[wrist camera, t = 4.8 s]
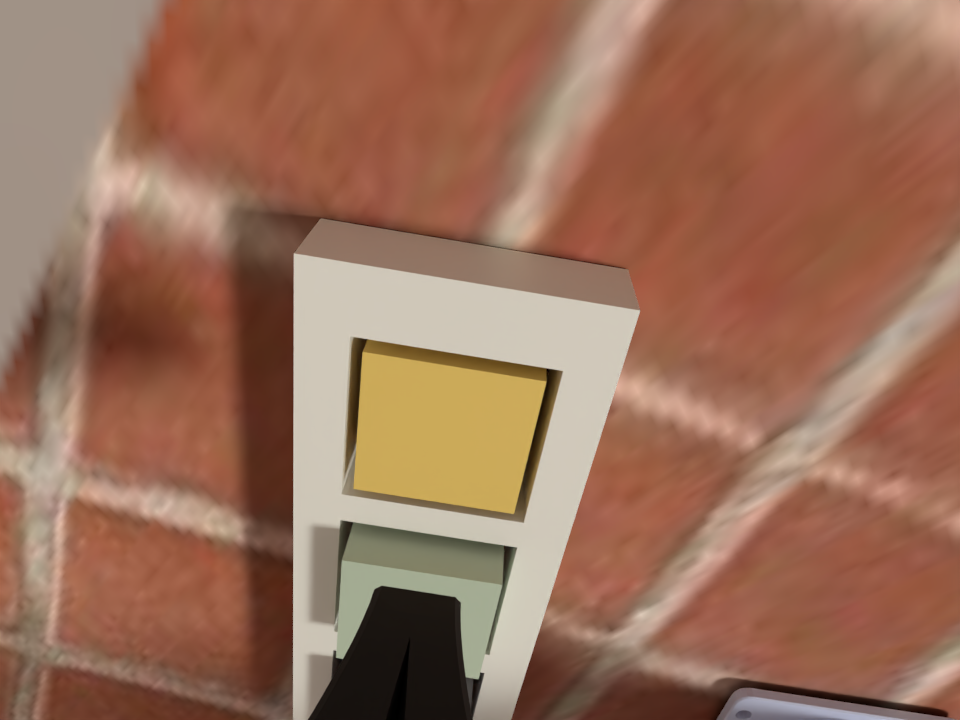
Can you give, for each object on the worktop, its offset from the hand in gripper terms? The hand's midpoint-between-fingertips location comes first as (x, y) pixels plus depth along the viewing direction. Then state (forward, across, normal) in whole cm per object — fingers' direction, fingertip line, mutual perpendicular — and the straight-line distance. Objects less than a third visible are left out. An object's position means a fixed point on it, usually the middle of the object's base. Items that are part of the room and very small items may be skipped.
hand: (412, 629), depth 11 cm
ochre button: (+7, 0, 0) cm, 7 cm away
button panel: (+7, 0, +6) cm, 9 cm away
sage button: (+6, 0, +5) cm, 8 cm away
